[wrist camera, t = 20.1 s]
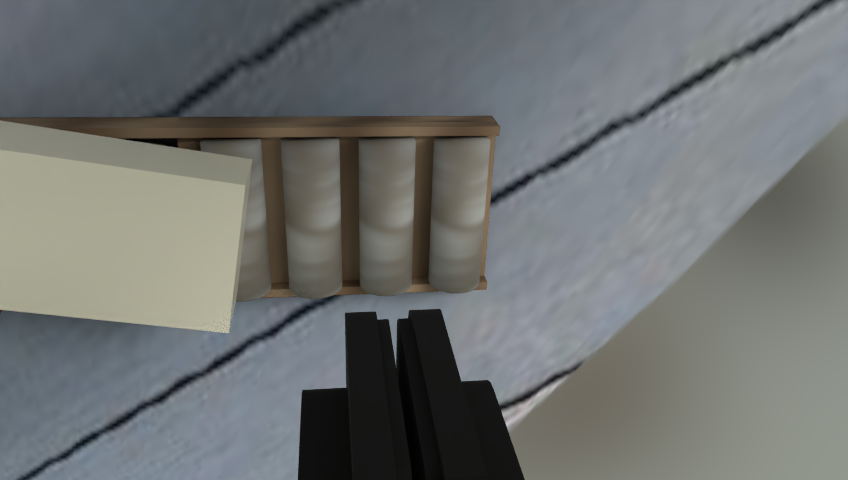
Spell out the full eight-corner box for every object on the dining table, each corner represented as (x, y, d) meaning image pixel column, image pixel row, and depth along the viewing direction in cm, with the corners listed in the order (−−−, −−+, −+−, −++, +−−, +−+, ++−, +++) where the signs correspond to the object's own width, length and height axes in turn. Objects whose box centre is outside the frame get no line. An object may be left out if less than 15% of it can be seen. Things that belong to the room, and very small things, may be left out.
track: (491, 116, 39) (521, 154, 33) (479, 273, 43) (503, 331, 37) (-51, 117, 35) (-125, 161, 29) (-4, 289, 39) (-60, 356, 34)
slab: (252, 159, 34) (245, 185, 31) (236, 297, 38) (228, 333, 35) (-14, 118, 32) (-50, 142, 29) (-6, 269, 35) (-38, 305, 32)
